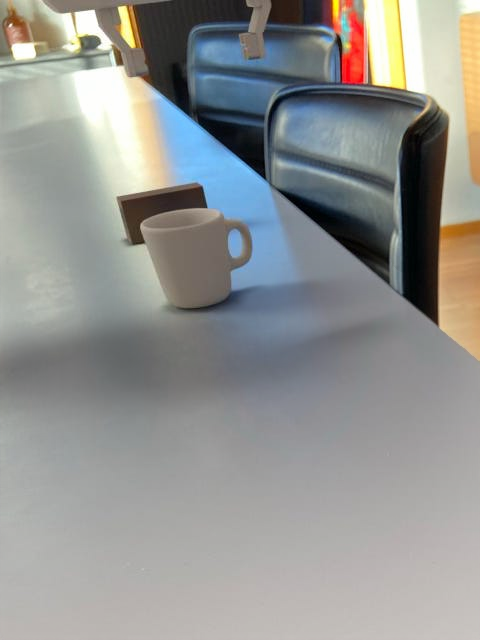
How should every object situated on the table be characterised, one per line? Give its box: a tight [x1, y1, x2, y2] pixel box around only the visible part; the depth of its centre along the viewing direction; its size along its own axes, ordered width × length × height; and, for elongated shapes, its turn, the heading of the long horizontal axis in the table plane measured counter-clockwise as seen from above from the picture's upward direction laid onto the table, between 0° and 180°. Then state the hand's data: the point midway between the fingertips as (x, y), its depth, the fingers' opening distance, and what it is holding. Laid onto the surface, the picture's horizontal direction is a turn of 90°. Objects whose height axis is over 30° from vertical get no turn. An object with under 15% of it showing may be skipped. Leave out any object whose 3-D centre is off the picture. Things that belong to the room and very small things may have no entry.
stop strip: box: [115, 181, 209, 245], centre depth 125 cm, size 10×3×5 cm, turn 117°
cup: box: [140, 208, 254, 309], centre depth 101 cm, size 11×8×8 cm
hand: (197, 67), depth 80 cm, fingers open, 8 cm apart
